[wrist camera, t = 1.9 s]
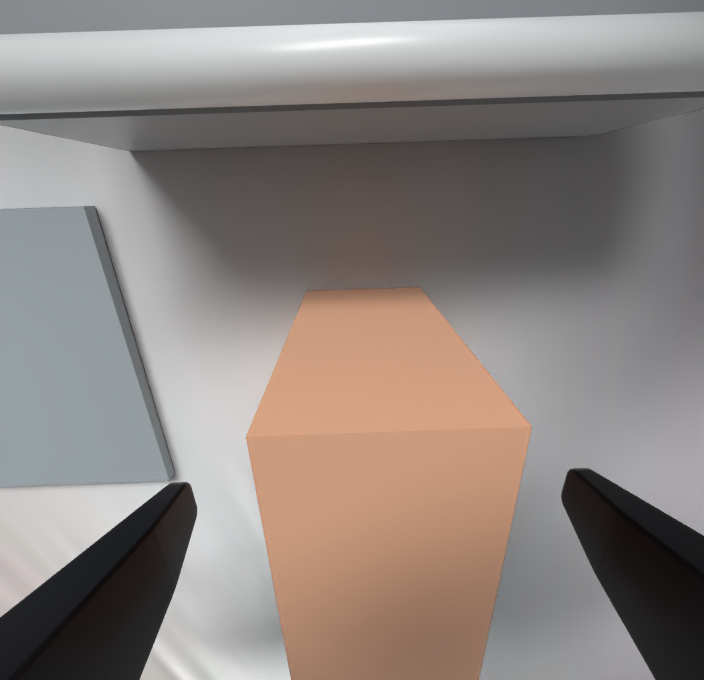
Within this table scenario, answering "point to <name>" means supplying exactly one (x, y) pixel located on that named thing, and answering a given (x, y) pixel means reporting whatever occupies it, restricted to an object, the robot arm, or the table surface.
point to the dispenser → (344, 69)
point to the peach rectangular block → (384, 489)
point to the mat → (69, 359)
